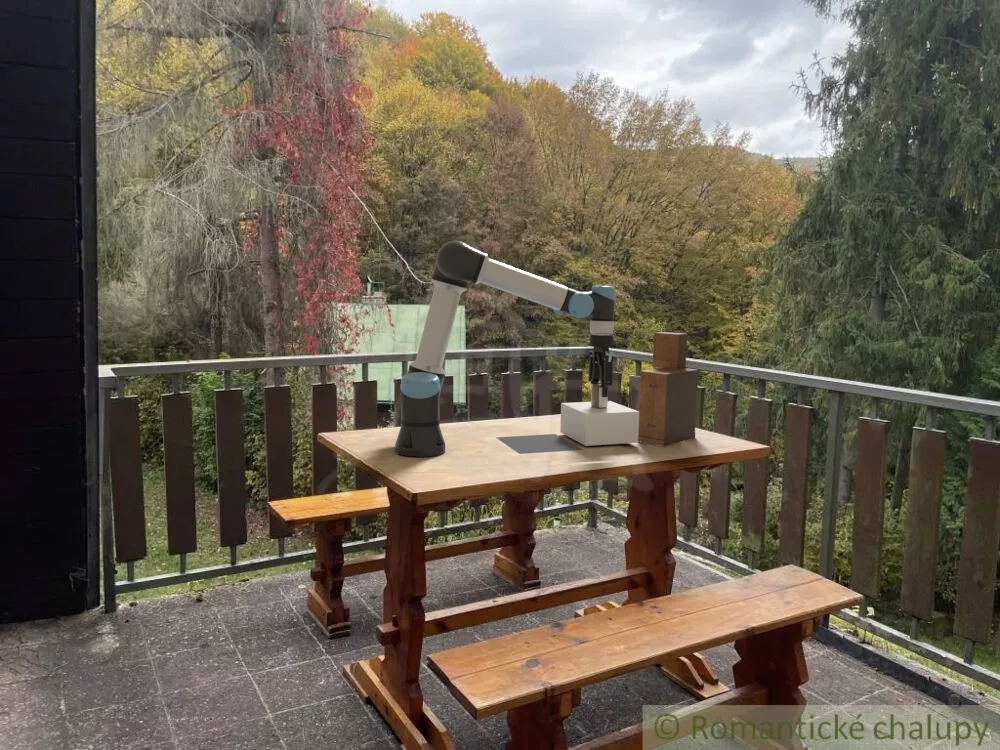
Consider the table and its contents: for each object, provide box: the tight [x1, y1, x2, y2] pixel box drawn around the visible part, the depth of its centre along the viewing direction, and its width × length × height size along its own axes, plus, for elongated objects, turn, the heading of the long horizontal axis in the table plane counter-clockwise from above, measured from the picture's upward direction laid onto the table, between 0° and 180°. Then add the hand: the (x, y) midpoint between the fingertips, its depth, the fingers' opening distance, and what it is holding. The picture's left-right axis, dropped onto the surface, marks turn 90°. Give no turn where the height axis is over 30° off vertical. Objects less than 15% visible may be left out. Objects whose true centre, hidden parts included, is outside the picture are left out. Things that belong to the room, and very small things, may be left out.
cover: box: [559, 384, 639, 447], centre depth 238 cm, size 18×20×17 cm
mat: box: [495, 433, 584, 455], centre depth 233 cm, size 21×23×1 cm
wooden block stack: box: [638, 331, 699, 447], centre depth 243 cm, size 19×14×35 cm
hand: (599, 405), depth 238 cm, fingers closed on cover, 5 cm apart
